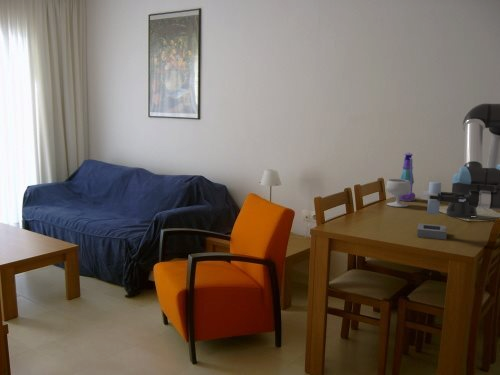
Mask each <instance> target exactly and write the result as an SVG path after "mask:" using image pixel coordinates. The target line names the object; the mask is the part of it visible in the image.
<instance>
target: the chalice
mask: <svg viewBox="0 0 500 375" xmlns="http://www.w3.org/2000/svg"><path fill="white" fill-rule="evenodd" d="M385 187H386V191H387V192H388V193H390V194H391V195H392V196H394V197H395V201H394V202H387V203H386V205H387V206H390V207H395V208H405V207H408V206H409V205H408V204H406V203H403V202H400V201H401V200H399V199H400V197H401V196H403V195H405V194H407V193H409V192H410V190H411V185H410V182H409V181H408V180H403V179H401V178H390V179H388V180H387V183H386V185H385Z"/></svg>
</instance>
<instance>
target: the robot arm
mask: <svg viewBox="0 0 500 375" xmlns="http://www.w3.org/2000/svg"><path fill="white" fill-rule="evenodd" d="M462 129H463V132H464V145H463V146H464V148H463V149H464V152H463V154H464V155H463V166H459V170H458V173H455V174H453V176H452V182H451V183H452V187H451V192H450V191H449V192H448V191H441V194H440V193H438V194H429V191H428V190H427V191H424V190H422V191H421V200H426V201H428V200H438V201H439V202H440V203H448V206H447V208H446V212H445V214H446V215H447V216H450V217H453V218H459V217H471V216H478V211H477V208H480V209H483V210H487V209H488V210H489V209H491V210H500V103H489V102H487V103H480V104H478V105H475V106H474V107H473V108H471V109H470V110H469V111H468V112H467V113H466V115H465V116H464V118H463V122H462ZM485 129H488V131H489V133H490V134H491V137H490V142H489V148H488V149H489V150H488V156H487V164H486V167H483V156H484V155H483V154H484V153H483V151H484V150H483V149H484V148H483V147H484V146H483V144H484V143H483V136H484V130H485Z"/></svg>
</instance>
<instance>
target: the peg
mask: <svg viewBox="0 0 500 375" xmlns="http://www.w3.org/2000/svg"><path fill="white" fill-rule="evenodd" d="M428 184H429V185H428V192H429V194H438V193H440V194H441V192H442V182H437V181H429V183H428ZM440 206H441V202H439V201H438V200H427V209H426V214H428V215H431V216H432V215H433V216H437V215H438V216H439V215H440Z"/></svg>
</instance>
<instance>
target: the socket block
mask: <svg viewBox="0 0 500 375" xmlns="http://www.w3.org/2000/svg"><path fill="white" fill-rule="evenodd" d="M447 231H448V230H447V227H446V225H439V224H430V223H420V222H418V223H417V231H416V233H417V235H416V238H424V239H434V240H443V241H444V240H445V241H446V240H447V233H448V232H447Z"/></svg>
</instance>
